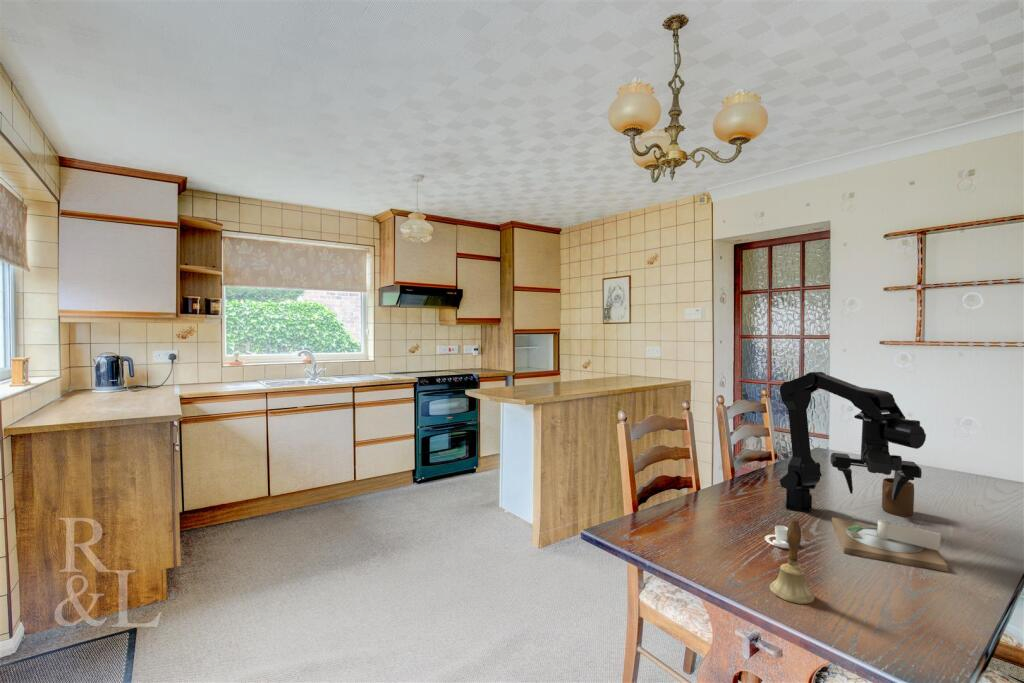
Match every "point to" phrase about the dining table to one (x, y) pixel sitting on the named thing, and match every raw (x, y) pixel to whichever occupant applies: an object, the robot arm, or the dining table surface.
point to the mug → (898, 498)
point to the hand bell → (792, 572)
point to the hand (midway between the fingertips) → (872, 496)
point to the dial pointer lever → (905, 534)
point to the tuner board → (883, 546)
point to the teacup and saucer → (779, 537)
